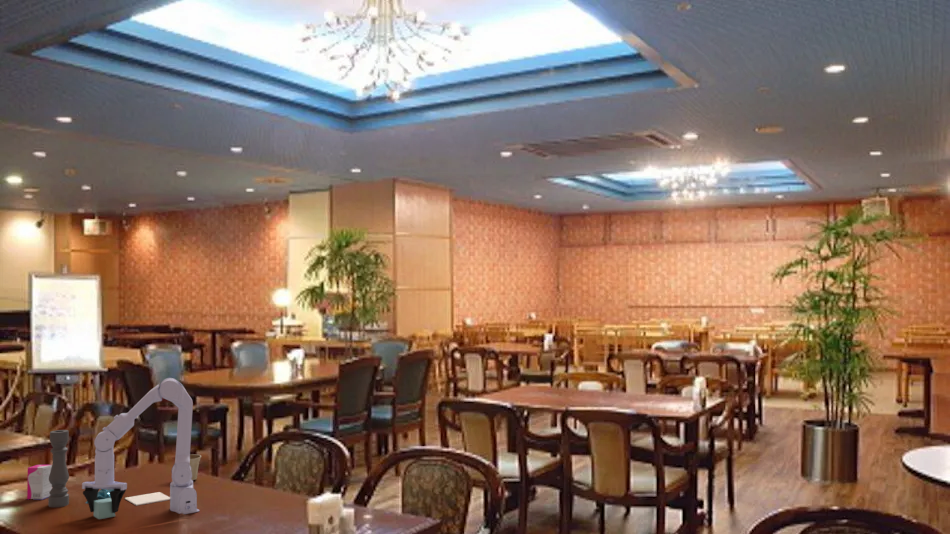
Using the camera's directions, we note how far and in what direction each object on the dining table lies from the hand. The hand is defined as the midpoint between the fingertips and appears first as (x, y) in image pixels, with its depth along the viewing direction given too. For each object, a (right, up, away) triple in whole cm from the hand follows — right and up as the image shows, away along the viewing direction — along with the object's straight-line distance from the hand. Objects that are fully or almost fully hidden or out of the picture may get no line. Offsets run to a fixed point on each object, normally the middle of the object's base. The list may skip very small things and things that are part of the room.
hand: (104, 511), depth 257 cm
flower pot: (+9, -3, +50) cm, 51 cm away
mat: (+6, -2, +21) cm, 22 cm away
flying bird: (-11, -3, +23) cm, 26 cm away
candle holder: (-22, -2, +13) cm, 26 cm away
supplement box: (-33, -3, +23) cm, 40 cm away
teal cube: (0, -2, 0) cm, 2 cm away
